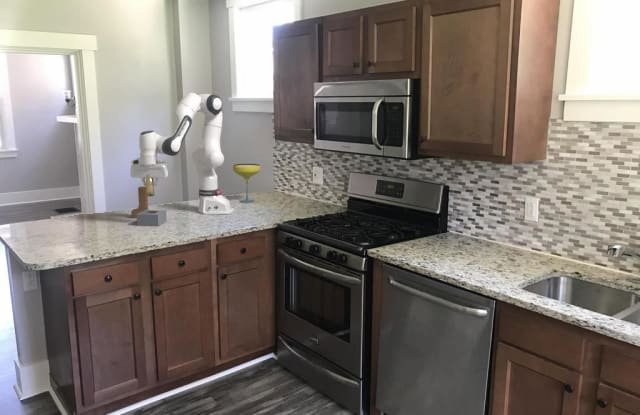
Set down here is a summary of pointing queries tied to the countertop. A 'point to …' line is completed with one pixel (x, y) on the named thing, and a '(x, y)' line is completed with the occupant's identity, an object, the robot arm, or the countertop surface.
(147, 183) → the brass pin
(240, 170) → the cocktail glass
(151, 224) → the hole holder
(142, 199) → the wooden block
